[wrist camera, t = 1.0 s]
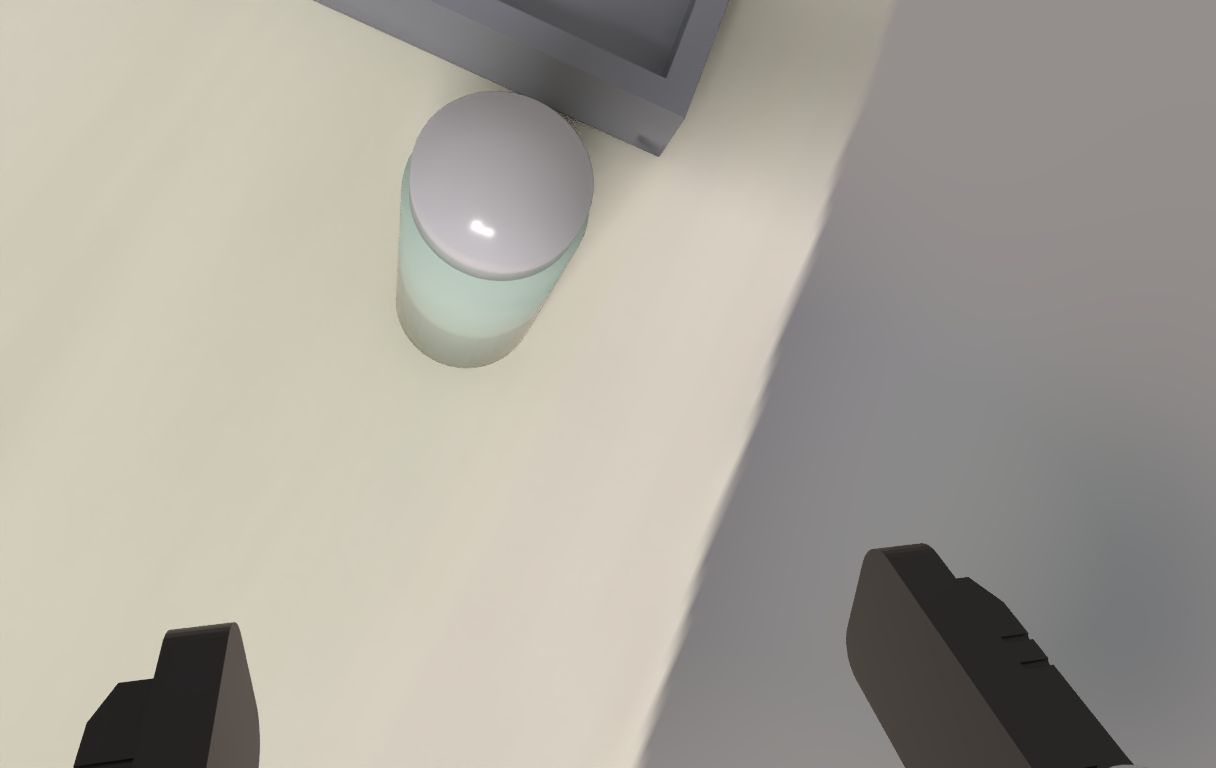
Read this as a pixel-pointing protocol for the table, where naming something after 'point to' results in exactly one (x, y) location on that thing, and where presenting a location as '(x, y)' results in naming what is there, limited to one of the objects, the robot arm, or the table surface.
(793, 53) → the table surface
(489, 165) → the shaker
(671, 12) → the tray
